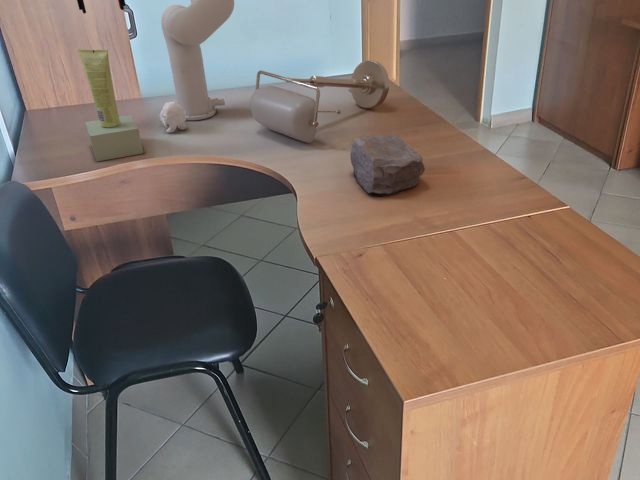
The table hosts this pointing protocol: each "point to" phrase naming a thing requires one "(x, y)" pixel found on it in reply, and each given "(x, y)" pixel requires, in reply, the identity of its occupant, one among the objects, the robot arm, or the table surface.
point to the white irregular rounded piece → (173, 116)
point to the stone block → (385, 164)
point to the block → (115, 139)
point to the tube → (101, 85)
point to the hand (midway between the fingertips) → (103, 10)
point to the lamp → (301, 111)
